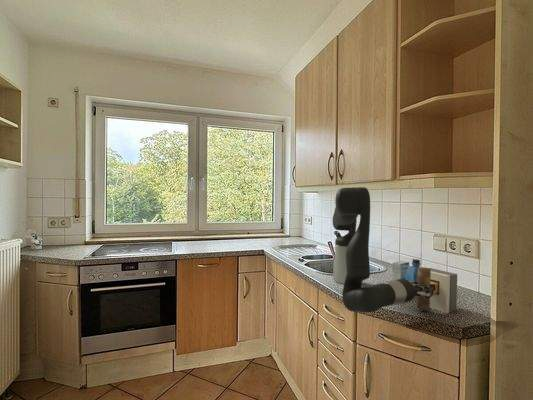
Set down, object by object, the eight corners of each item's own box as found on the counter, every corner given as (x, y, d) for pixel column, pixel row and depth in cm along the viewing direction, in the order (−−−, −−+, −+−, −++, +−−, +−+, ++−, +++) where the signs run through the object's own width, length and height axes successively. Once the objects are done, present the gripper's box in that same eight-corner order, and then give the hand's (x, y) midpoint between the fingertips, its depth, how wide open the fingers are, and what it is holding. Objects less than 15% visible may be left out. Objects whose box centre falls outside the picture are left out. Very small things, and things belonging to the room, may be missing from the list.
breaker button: (422, 291, 108) (422, 281, 108) (429, 289, 110) (429, 280, 110) (431, 293, 105) (431, 284, 105) (438, 292, 107) (438, 282, 107)
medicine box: (400, 282, 142) (400, 264, 142) (391, 280, 145) (392, 262, 145) (409, 279, 146) (409, 262, 146) (400, 277, 150) (401, 260, 150)
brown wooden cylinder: (414, 307, 107) (415, 267, 107) (421, 305, 109) (422, 266, 109) (424, 310, 103) (426, 270, 103) (432, 308, 105) (433, 269, 105)
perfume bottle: (417, 284, 139) (417, 258, 139) (426, 288, 133) (427, 261, 133) (405, 284, 138) (405, 258, 138) (413, 288, 132) (414, 261, 132)
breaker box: (419, 304, 113) (419, 269, 113) (429, 301, 116) (430, 267, 116) (445, 313, 104) (446, 276, 104) (456, 310, 107) (457, 274, 107)
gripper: (416, 286, 92) (448, 279, 101) (378, 275, 105) (410, 270, 113) (415, 310, 93) (447, 302, 101) (378, 296, 105) (409, 290, 113)
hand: (427, 285), depth 107 cm, fingers closed on brown wooden cylinder, 4 cm apart
